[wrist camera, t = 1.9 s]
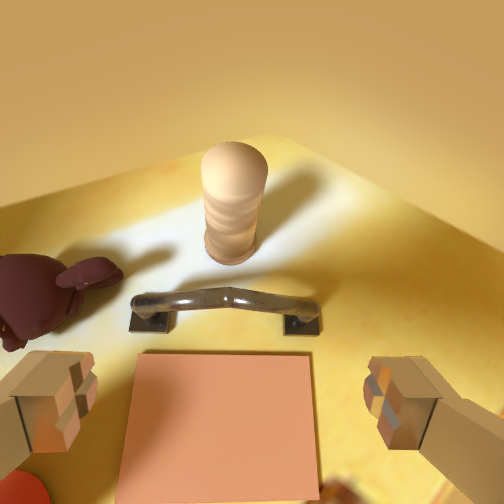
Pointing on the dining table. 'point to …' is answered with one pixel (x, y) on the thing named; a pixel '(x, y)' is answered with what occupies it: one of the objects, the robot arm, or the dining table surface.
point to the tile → (219, 430)
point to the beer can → (23, 489)
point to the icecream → (45, 293)
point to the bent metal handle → (160, 304)
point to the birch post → (232, 200)
